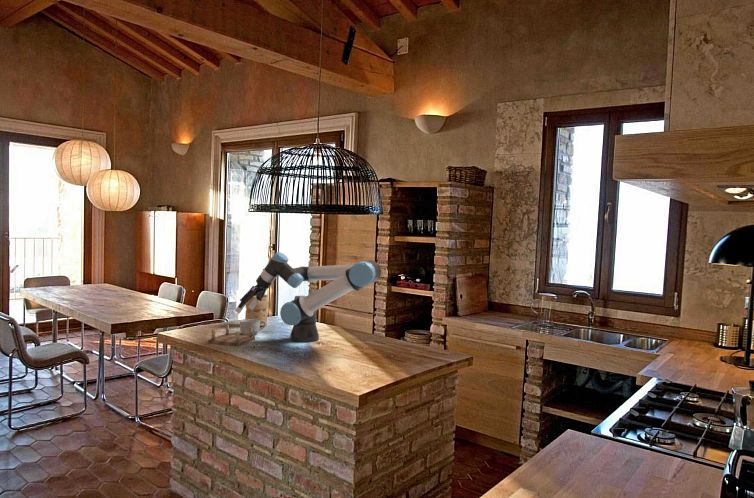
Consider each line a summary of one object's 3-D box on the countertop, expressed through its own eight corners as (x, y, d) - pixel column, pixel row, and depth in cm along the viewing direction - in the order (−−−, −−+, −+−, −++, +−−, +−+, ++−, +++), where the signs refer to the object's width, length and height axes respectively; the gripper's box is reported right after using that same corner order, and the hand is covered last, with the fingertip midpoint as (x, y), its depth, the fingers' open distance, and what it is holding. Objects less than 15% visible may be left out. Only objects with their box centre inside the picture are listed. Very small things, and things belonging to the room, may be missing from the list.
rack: (255, 339, 289) (255, 326, 289) (238, 346, 273) (238, 333, 272) (226, 336, 294) (226, 324, 293) (208, 343, 277) (208, 330, 277)
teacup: (238, 336, 294) (238, 321, 293) (240, 332, 304) (240, 318, 304) (264, 336, 295) (265, 322, 295) (266, 332, 306) (266, 318, 306)
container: (271, 325, 327) (272, 295, 326) (256, 328, 316) (256, 297, 315) (255, 322, 333) (256, 293, 332) (240, 325, 323) (241, 295, 322)
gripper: (272, 272, 295) (250, 302, 300) (248, 276, 272) (225, 309, 276) (282, 281, 294) (260, 311, 298) (259, 285, 270) (236, 318, 274)
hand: (243, 310), depth 287 cm, fingers open, 13 cm apart
